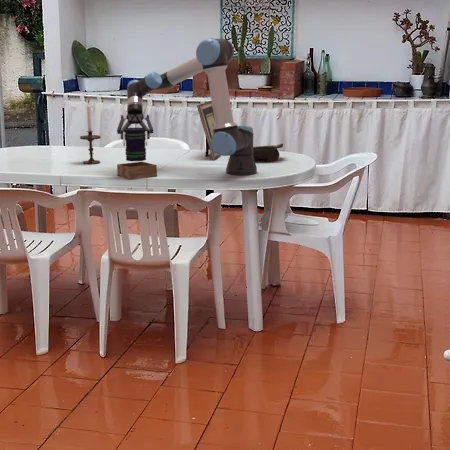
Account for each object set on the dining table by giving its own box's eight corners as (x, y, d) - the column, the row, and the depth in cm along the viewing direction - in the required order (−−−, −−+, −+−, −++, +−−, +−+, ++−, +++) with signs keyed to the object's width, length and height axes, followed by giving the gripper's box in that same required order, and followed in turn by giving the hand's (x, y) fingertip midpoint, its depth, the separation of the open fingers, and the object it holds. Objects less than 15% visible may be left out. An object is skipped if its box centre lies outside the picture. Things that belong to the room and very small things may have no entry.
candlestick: (102, 161, 408) (98, 96, 400) (101, 164, 397) (98, 97, 389) (81, 161, 406) (78, 96, 398) (81, 165, 396) (77, 98, 388)
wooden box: (157, 176, 360) (156, 165, 358) (131, 179, 352) (130, 168, 351) (142, 172, 371) (142, 161, 369) (117, 175, 363) (117, 164, 362)
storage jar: (122, 161, 356) (121, 129, 353) (130, 157, 366) (128, 127, 362) (142, 161, 354) (141, 130, 350) (149, 158, 363) (148, 127, 360)
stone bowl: (286, 162, 395) (285, 145, 393) (239, 166, 396) (238, 149, 393) (282, 155, 419) (281, 138, 417) (238, 159, 419) (237, 142, 417)
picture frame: (214, 160, 406) (214, 105, 399) (197, 160, 408) (195, 104, 400) (226, 152, 437) (226, 100, 430) (210, 151, 439) (209, 100, 432)
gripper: (158, 112, 370) (159, 148, 359) (112, 113, 368) (112, 149, 357) (157, 102, 364) (158, 138, 353) (111, 103, 362) (110, 139, 351)
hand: (135, 144), depth 355 cm, fingers closed on storage jar, 10 cm apart
